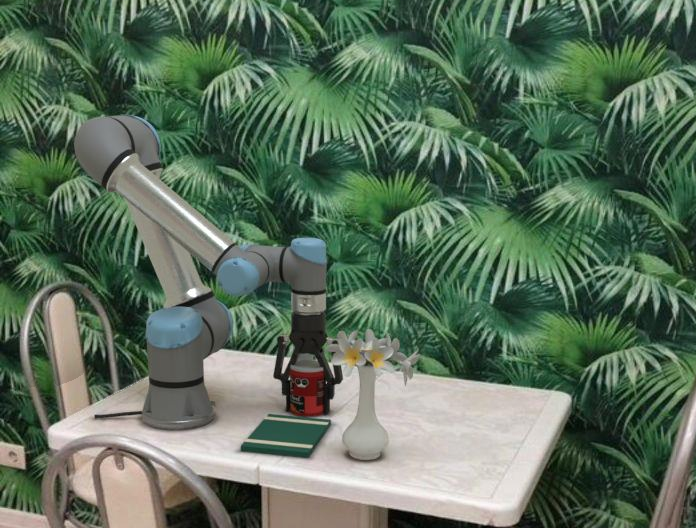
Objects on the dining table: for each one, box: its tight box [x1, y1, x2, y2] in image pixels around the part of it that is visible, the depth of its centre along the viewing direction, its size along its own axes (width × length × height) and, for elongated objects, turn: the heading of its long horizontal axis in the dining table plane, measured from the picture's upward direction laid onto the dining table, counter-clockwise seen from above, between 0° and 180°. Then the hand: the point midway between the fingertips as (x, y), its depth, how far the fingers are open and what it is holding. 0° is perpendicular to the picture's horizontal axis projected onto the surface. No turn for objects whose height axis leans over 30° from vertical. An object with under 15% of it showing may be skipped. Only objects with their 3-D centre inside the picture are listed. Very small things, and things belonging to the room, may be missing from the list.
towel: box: [240, 413, 332, 459], centre depth 199 cm, size 14×20×1 cm
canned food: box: [289, 359, 327, 418], centre depth 213 cm, size 8×8×11 cm
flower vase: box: [324, 328, 421, 461], centre depth 187 cm, size 13×18×25 cm
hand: (307, 410), depth 215 cm, fingers closed on canned food, 8 cm apart
